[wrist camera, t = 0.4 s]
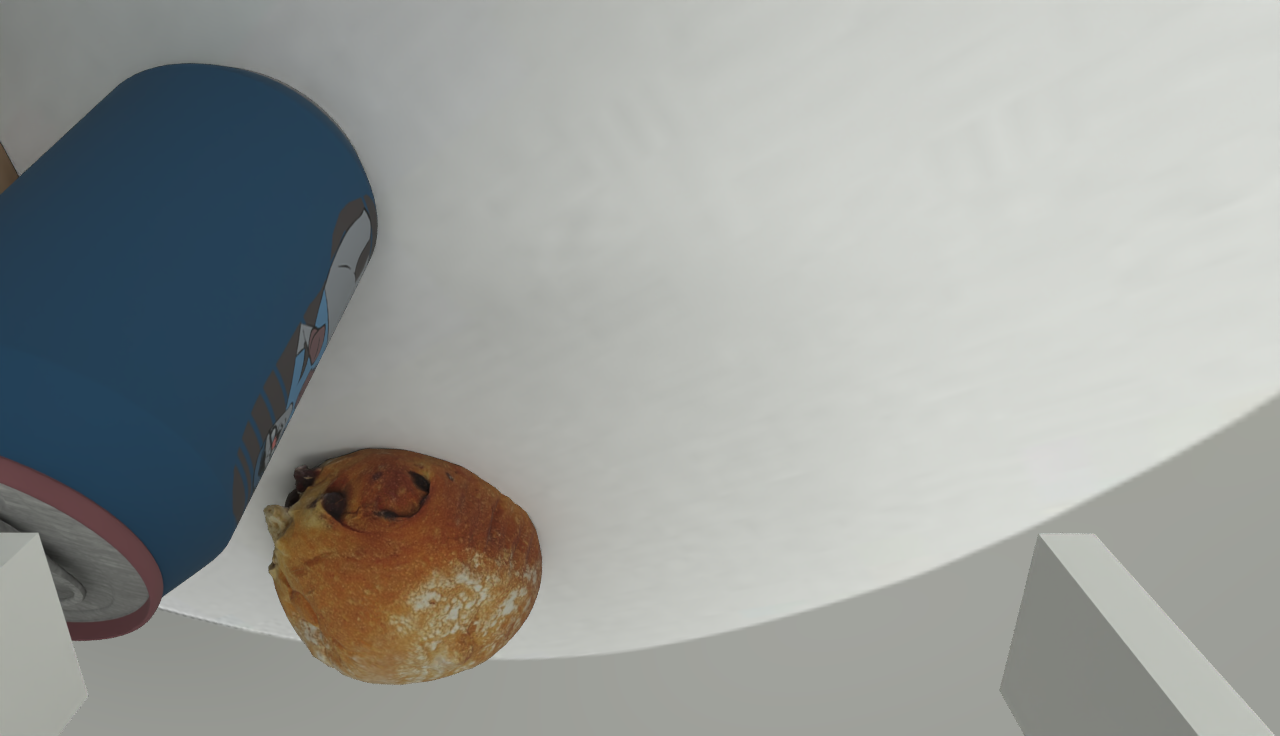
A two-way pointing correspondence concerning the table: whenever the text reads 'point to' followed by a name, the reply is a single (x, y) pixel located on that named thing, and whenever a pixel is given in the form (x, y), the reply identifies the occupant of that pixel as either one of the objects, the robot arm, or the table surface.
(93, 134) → the soda can
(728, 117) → the table surface
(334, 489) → the bread roll
